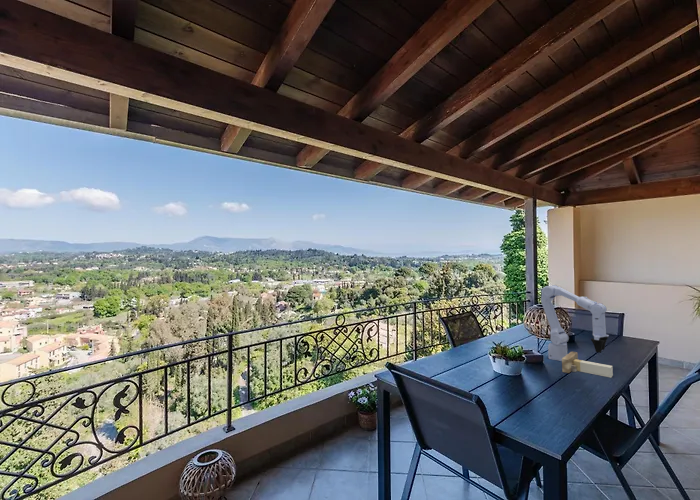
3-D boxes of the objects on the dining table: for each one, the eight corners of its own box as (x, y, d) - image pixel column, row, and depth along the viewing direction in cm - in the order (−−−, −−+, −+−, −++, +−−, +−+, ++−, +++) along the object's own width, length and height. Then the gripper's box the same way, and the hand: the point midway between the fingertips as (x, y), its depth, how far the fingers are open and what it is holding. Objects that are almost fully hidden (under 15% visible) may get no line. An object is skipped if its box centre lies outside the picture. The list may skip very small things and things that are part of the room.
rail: (573, 370, 175) (573, 360, 175) (575, 368, 178) (575, 359, 178) (611, 377, 163) (610, 367, 163) (612, 375, 166) (612, 365, 166)
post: (562, 371, 173) (561, 358, 173) (571, 363, 185) (571, 351, 185) (573, 374, 169) (572, 360, 169) (582, 365, 181) (581, 353, 181)
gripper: (605, 329, 169) (606, 355, 169) (610, 324, 179) (612, 349, 179) (588, 327, 175) (590, 352, 174) (595, 323, 184) (596, 347, 184)
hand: (600, 350), depth 177 cm, fingers open, 7 cm apart
